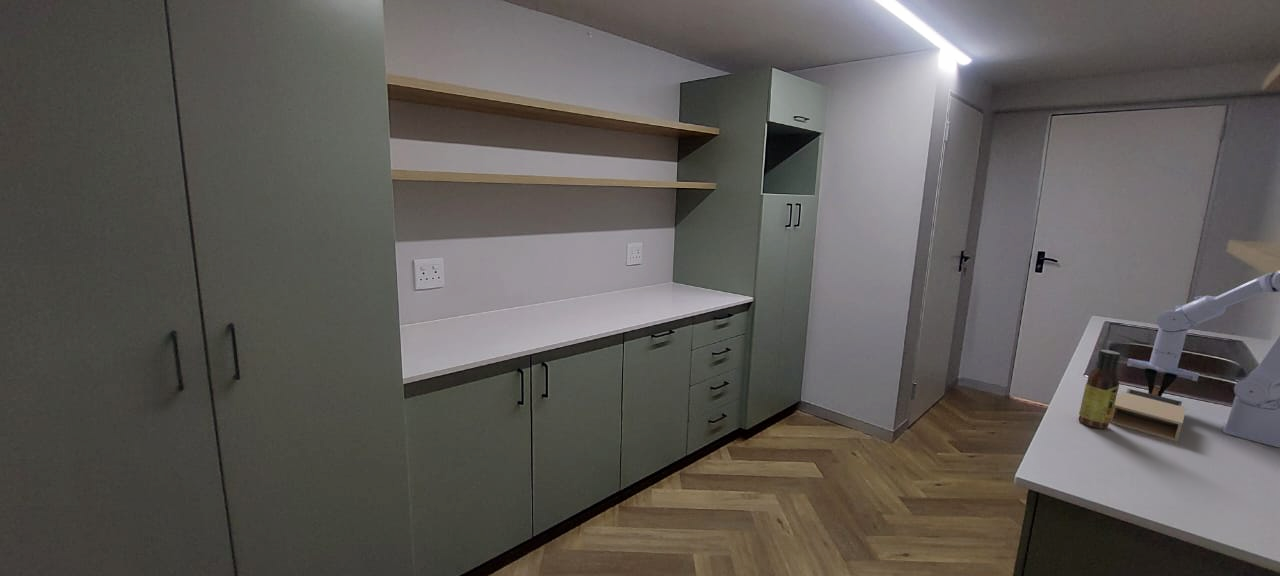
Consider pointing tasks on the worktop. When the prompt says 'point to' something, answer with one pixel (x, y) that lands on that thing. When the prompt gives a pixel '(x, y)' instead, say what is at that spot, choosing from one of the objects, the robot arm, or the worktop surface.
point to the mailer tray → (1155, 397)
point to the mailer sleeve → (1148, 409)
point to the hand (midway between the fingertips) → (1154, 396)
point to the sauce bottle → (1100, 391)
